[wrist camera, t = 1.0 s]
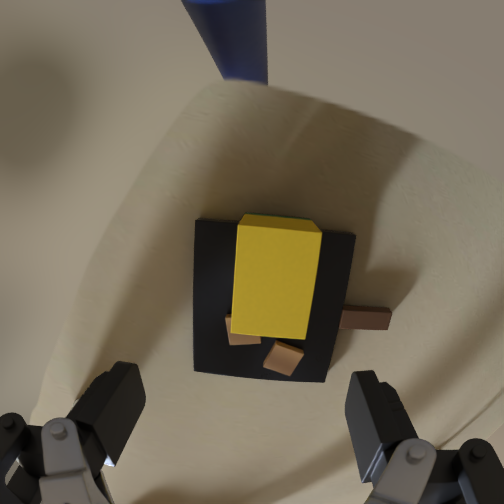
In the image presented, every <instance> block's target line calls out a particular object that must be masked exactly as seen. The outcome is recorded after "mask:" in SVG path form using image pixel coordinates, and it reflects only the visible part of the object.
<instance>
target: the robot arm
mask: <svg viewBox="0 0 504 504" xmlns="http://www.w3.org/2000/svg"><path fill="white" fill-rule="evenodd" d="M145 402H146V395H145V390H144V387H143V383H142V379H141V375H140V371H139V368H138V365H137V364H135V363H128V362H122V361H117V362H116V363H115V364H114V366H113V367H112V368H111V370H110V371H109V372H107V371H105V372H104V373H102V374H101V375H99V376H98V377H96V378H95V379H94V381H93V382H92V383H91V384H90V387H89V388H87V390H86V391H85V392H84V394H83V395H82V396H81V398H80V399H79V400H78V402H77V403H76V404H75V406H74V407H73V408H72V410H71V411H70V412H69V414H68V415H67V416H66V418H54V419H52V420H50V421H48V422H47V423H46V424H45V425H44V426H33V425H27V424H26V422H25V421H24V419H23V417H22V416H21V415H19V414H17V413H7V414H4V415H2V416H1V417H0V504H40V503H41V501H42V502H43V504H114V501H113V499H112V496H111V493H110V491H109V488H108V485H107V482H106V480H105V477H104V474H103V471H102V470H101V469H102V467H103V465H104V464H108V465H111V466H114V467H115V466H116V463H117V461H118V459H119V457H120V455H121V453H122V451H123V449H124V447H125V445H126V443H127V441H128V439H129V437H130V435H131V433H132V431H133V429H134V427H135V425H136V423H137V421H138V419H139V417H140V415H141V413H142V411H143V409H144V406H145ZM345 416H346V420H347V424H348V428H349V432H350V436H351V440H352V444H353V448H354V452H355V456H356V460H357V465H358V469H359V473H360V477H361V482H362V483H367V482H372V484H373V488H374V489H373V490H372V492H371V494H370V495H369V497H368V498H367V500H366V501H365V503H364V504H504V468H503V466H502V464H501V462H500V460H499V458H498V456H497V454H496V453H495V451H494V449H493V447H492V446H491V444H490V443H488V442H487V441H485V440H483V439H478V438H474V439H470V440H467V441H466V442H464V443H463V445H462V446H461V447H460V449H459V450H436V449H435V448H434V447H433V445H432V444H431V443H429V442H428V441H426V440H423V439H419V438H418V436H417V433H416V431H415V429H414V427H413V425H412V423H411V421H410V419H409V416H408V414H407V412H406V410H405V409H404V406H403V404H402V402H401V401H400V398H399V396H398V394H397V392H396V390H395V389H394V388H393V387H392V386H390V385H389V384H388V383H387V382H380V383H379V381H378V379H377V376H376V374H375V372H374V371H373V370H368V371H356V372H353V373H352V375H351V379H350V384H349V389H348V393H347V397H346V402H345ZM15 460H17V461H18V463H19V464H20V465H19V466H18V468H17V470H16V471H15V473H14V474H13V476H12V478H11V480H10V481H9V483H8V485H7V486H6V484H5V476H6V474H7V472H8V471H9V469H10V467H11V466H12V464H13V463H14V461H15Z"/></svg>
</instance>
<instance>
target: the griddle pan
mask: <svg viewBox="0 0 504 504" xmlns="http://www.w3.org/2000/svg"><path fill="white" fill-rule="evenodd" d="M239 222H240V221H230V220H218V219H205V218H198V219H196V220H195V242H194V277H193V360H194V371H197V372H204V373H211V374H218V375H226V376H235V377H244V378H254V379H265V380H278V381H295V382H321V383H324V382H325V379H326V375H327V372H328V368H329V364H330V360H331V357H332V353H333V349H334V345H335V340H336V336H337V332H338V328H340V329H363V330H388V327H389V323H390V320H391V316H392V311H391V310H390V309H389V308H385V307H365V306H348V305H344V300H345V295H346V290H347V285H348V280H349V275H350V269H351V264H352V258H353V252H354V246H355V239H356V235H355V234H353V233H350V232H341V231H332V230H323V229H320V231H321V232H322V240H321V247H320V254H319V261H318V268H317V274H316V281H315V287H314V293H313V299H312V305H311V311H310V316H309V322H308V327H307V333H306V338H305V339H292V338H279V337H267V336H261V343H258V344H241V345H230V343H229V337H228V331H227V325H226V319H225V318H226V314H232V304H233V288H234V273H235V259H236V245H237V231H238V224H239ZM276 340H277V341H279V342H282V343H285V344H287V345H290V346H293V347H296V348H298V349H301V350H303V352H304V355H303V357H302V358H301V360H300V361H299V363H298V365H297V366H296V368H295V369H294V371H293V372H292V374H291V375H290V376H288V375H285V374H282V373H279V372H277V371H274V370H271V369H268V368H265V367H263V362H264V360H265V359H266V357H267V355H268V354H269V352H270V350H271V348H272V346H273V345H274V343H275V341H276Z"/></svg>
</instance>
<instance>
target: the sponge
mask: <svg viewBox="0 0 504 504" xmlns="http://www.w3.org/2000/svg"><path fill="white" fill-rule="evenodd" d="M321 240H322V232H321V231H320V229H319V228H318V227H317V226H316V225H315V224H314V223H313V221H312V220H311V219H308V218H299V217H289V216H279V215H269V214H258V213H247V212H246V213H245V214H244V216H243V217H242V219H241V221H240V222H239V224H238V231H237V245H236V259H235V273H234V288H233V304H232V319H231V333H237V334H246V335H256V336H267V337H279V338H292V339H305V338H306V333H307V327H308V322H309V316H310V311H311V305H312V299H313V293H314V287H315V281H316V274H317V268H318V261H319V254H320V247H321Z"/></svg>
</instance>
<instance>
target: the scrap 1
mask: <svg viewBox="0 0 504 504" xmlns="http://www.w3.org/2000/svg"><path fill="white" fill-rule="evenodd" d="M225 319H226V325H227V331H228V337H229V343H230V345H241V344H258V343H261V336H256V335H246V334H237V333H231V319H232V314H226V318H225Z"/></svg>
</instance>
